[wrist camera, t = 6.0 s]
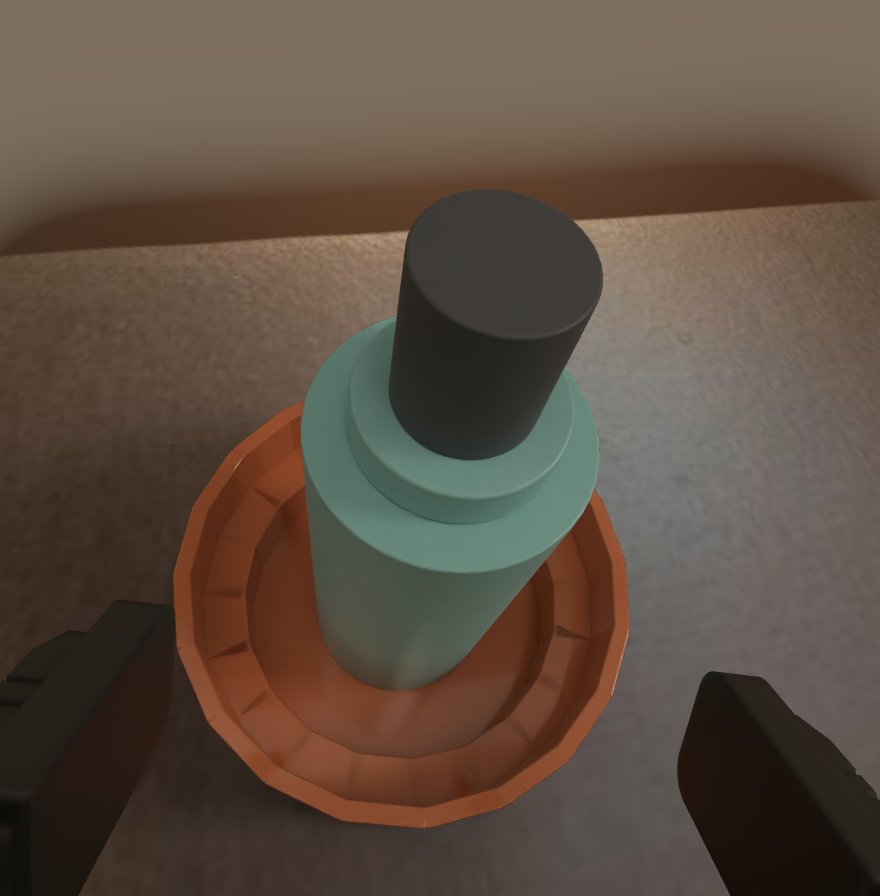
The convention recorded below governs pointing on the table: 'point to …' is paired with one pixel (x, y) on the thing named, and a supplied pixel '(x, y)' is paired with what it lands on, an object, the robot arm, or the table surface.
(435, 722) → the bowl
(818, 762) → the robot arm
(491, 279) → the bottle
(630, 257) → the table surface
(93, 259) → the table surface
